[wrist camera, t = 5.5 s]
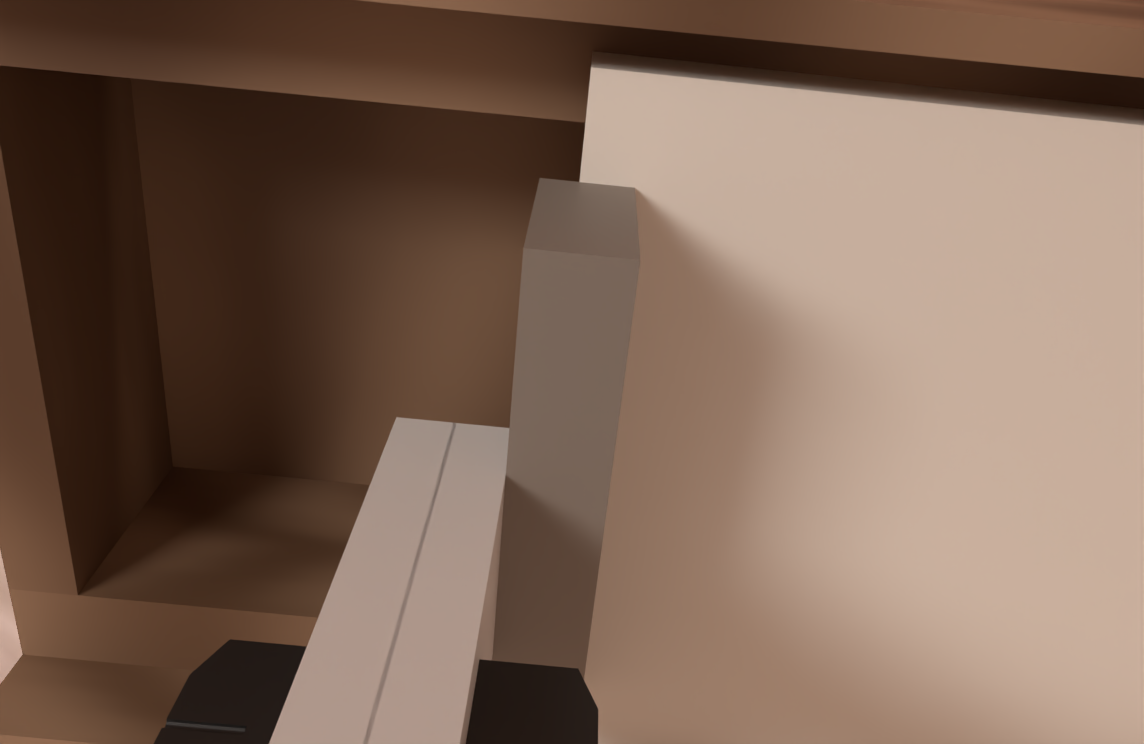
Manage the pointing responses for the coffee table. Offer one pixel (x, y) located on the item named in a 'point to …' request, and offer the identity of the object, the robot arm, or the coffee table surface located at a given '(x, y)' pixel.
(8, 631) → the coffee table surface
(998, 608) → the cover plate
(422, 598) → the robot arm
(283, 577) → the walnut box
